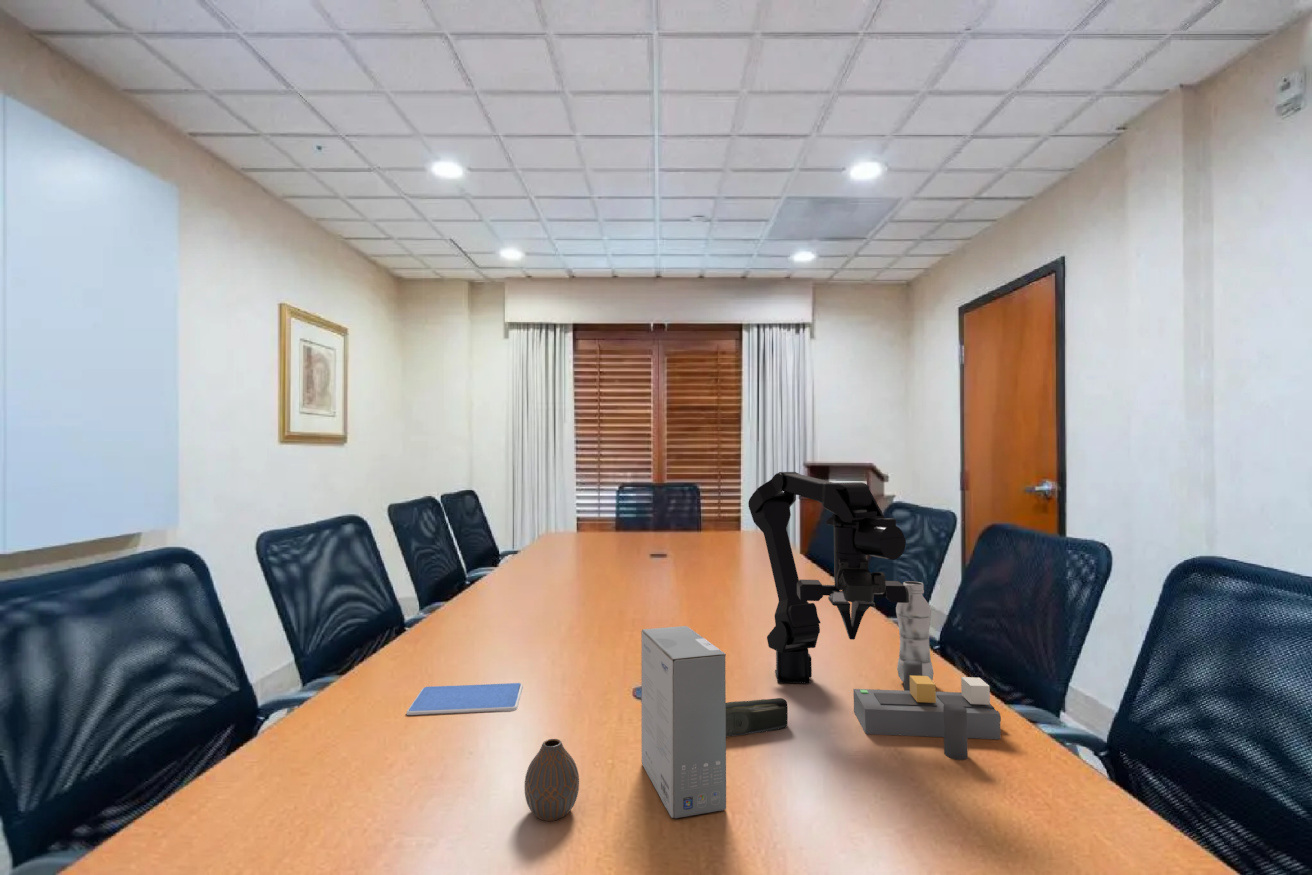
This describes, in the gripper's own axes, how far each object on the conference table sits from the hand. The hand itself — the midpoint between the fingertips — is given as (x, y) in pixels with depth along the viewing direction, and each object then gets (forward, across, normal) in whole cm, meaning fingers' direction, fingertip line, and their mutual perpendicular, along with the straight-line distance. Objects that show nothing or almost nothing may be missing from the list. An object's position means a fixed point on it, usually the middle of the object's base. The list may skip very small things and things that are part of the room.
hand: (851, 638), depth 112 cm
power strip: (+12, +10, -6) cm, 17 cm away
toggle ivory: (+8, +19, -6) cm, 21 cm away
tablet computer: (+13, -71, -2) cm, 72 cm away
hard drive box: (+13, -29, -29) cm, 43 cm away
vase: (+13, -45, -37) cm, 60 cm away
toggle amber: (+8, +10, -6) cm, 14 cm away
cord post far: (+12, +12, +5) cm, 18 cm away
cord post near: (+12, +12, -16) cm, 24 cm away
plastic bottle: (+13, +15, +14) cm, 24 cm away
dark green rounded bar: (+13, -19, -11) cm, 26 cm away
